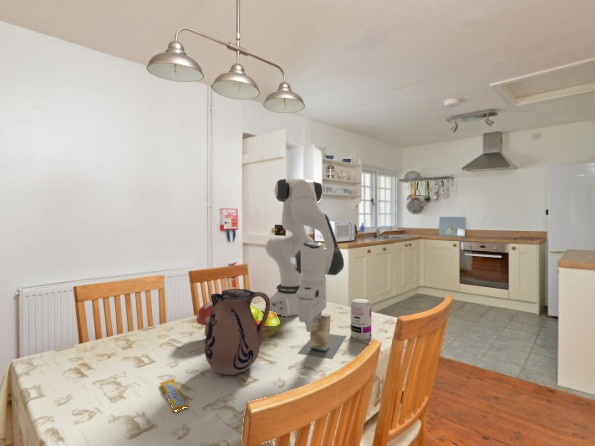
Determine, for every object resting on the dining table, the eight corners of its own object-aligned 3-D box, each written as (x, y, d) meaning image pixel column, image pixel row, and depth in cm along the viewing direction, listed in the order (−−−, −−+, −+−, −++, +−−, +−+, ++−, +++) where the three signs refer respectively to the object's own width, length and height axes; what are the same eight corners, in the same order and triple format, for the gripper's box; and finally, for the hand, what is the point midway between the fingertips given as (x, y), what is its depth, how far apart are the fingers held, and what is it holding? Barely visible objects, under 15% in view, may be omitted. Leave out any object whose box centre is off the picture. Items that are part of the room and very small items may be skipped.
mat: (297, 354, 115) (297, 353, 115) (316, 332, 136) (316, 332, 136) (332, 359, 110) (332, 359, 110) (346, 337, 131) (346, 336, 131)
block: (309, 348, 117) (311, 314, 119) (313, 345, 121) (315, 313, 123) (325, 350, 115) (327, 316, 117) (329, 348, 119) (330, 315, 121)
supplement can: (369, 333, 134) (369, 298, 134) (372, 341, 126) (372, 303, 126) (350, 333, 135) (350, 297, 135) (351, 340, 127) (351, 303, 126)
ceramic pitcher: (203, 361, 110) (201, 289, 109) (262, 351, 117) (261, 284, 117) (207, 387, 94) (206, 302, 93) (276, 373, 101) (275, 295, 100)
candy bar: (189, 410, 83) (189, 403, 83) (173, 416, 81) (172, 409, 81) (174, 383, 97) (174, 377, 97) (159, 387, 95) (159, 381, 95)
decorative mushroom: (204, 348, 121) (204, 308, 121) (191, 337, 132) (190, 301, 131) (236, 339, 130) (235, 302, 129) (221, 330, 140) (220, 296, 140)
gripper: (314, 282, 123) (314, 317, 124) (294, 293, 104) (294, 336, 105) (330, 283, 121) (330, 319, 121) (312, 295, 102) (312, 338, 102)
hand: (313, 327), depth 113 cm, fingers open, 7 cm apart
